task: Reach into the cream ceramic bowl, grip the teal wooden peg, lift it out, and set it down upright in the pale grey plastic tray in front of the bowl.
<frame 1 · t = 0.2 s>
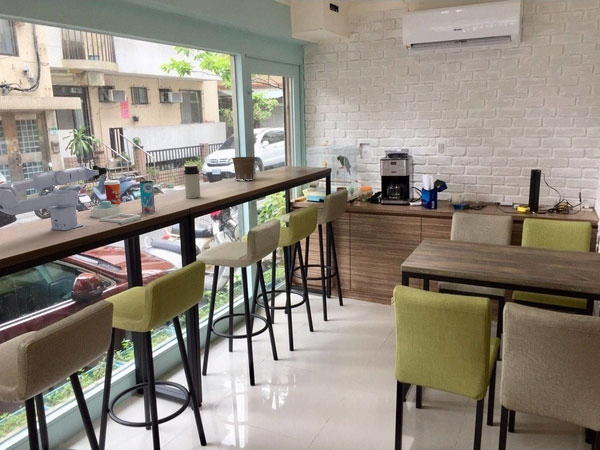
hand: (99, 170, 220), 21 cm above the table, tool horizontal, fingers open, 7 cm apart
beverage can: (148, 213, 236), on the table
travel mug: (193, 197, 282), on the table
paper cup: (114, 209, 249), on the table
plant pot: (244, 181, 353), on the table
peg: (106, 214, 230), point 1 cm above the table, touching bowl
tray: (120, 220, 219), on the table
bowl: (106, 216, 230), on the table
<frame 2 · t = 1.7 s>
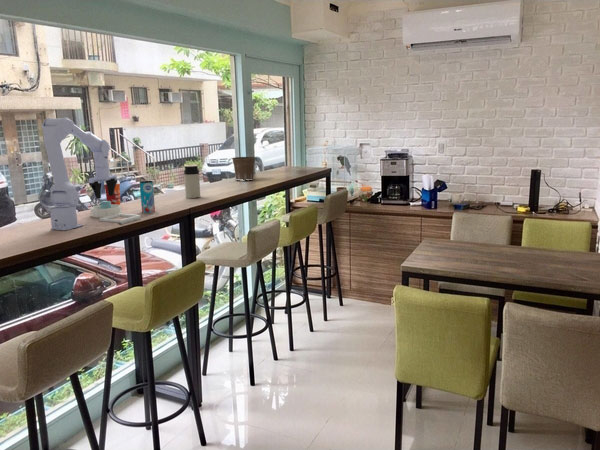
hand: (105, 196, 228), 9 cm above the table, tool pointing down, fingers open, 7 cm apart
nothing on the table moved.
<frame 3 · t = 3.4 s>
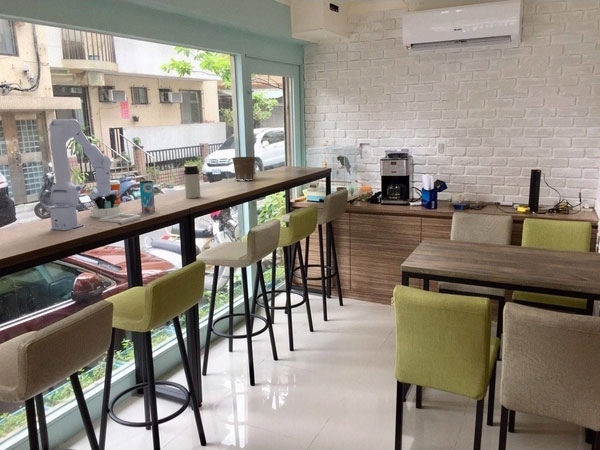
hand: (106, 212, 230), 2 cm above the table, tool pointing down, fingers closed on peg, 4 cm apart
peg: (106, 214, 230), point 1 cm above the table, touching bowl, gripper
everything else where it was.
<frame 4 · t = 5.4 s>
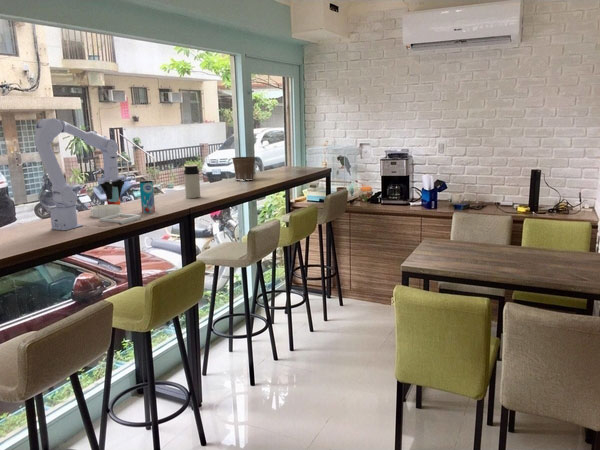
hand: (113, 198, 221), 9 cm above the table, tool pointing down, fingers closed on peg, 4 cm apart
peg: (113, 200, 221), point 8 cm above the table, touching gripper
everything else where it was.
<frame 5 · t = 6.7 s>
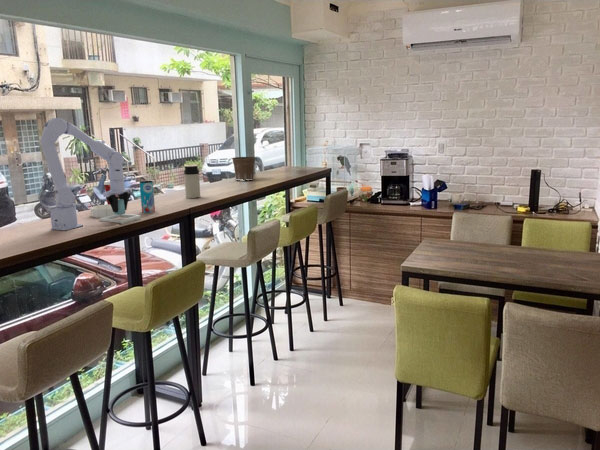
hand: (119, 211, 218), 4 cm above the table, tool pointing down, fingers closed on peg, 4 cm apart
peg: (120, 213, 218), point 3 cm above the table, touching gripper
everything else where it was.
when the fingers open (3 cm above the table, at t = 7.8 s): peg drops 1 cm, resting on tray.
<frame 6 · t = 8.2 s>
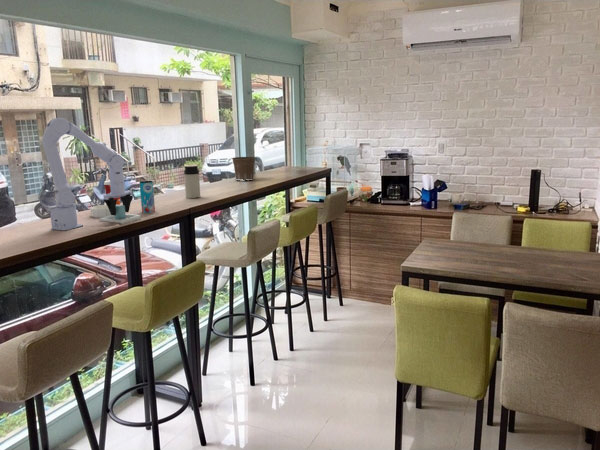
hand: (120, 213, 218), 3 cm above the table, tool pointing down, fingers open, 7 cm apart
peg: (120, 219, 219), point 1 cm above the table, touching tray
everything else where it was.
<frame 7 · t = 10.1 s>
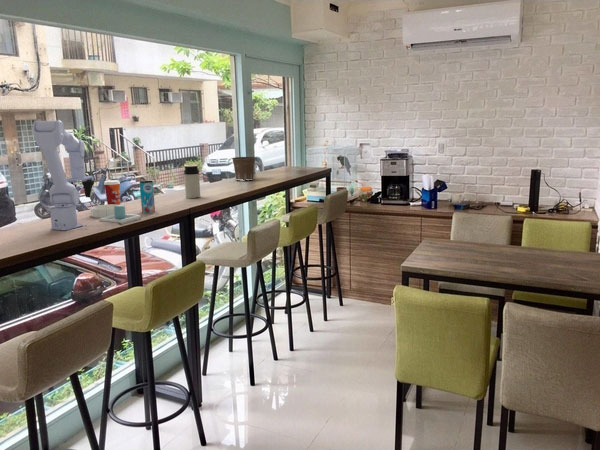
hand: (81, 198, 222), 9 cm above the table, tool pointing down, fingers open, 7 cm apart
nothing on the table moved.
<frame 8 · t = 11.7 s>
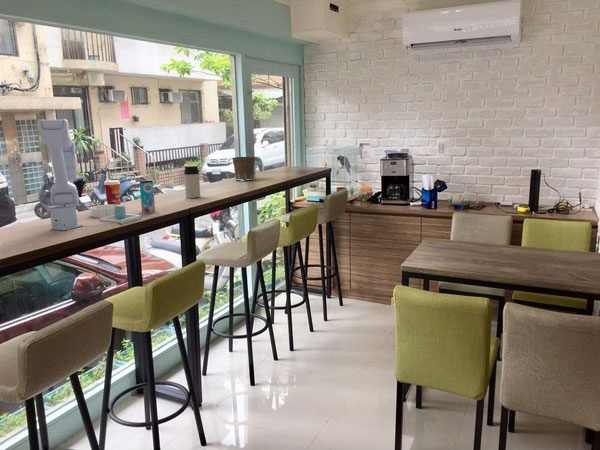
hand: (72, 198, 223), 9 cm above the table, tool pointing down, fingers open, 7 cm apart
nothing on the table moved.
at the end: peg inside the target area on the tray (0.0 cm from its centre), point 0.7 cm above the tray's base; peg tilted 1°; the gripper is holding nothing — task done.
